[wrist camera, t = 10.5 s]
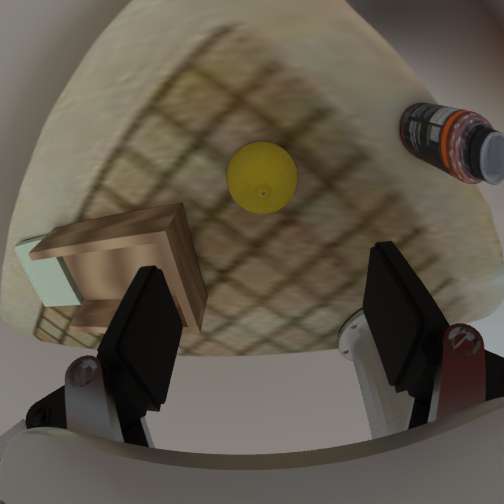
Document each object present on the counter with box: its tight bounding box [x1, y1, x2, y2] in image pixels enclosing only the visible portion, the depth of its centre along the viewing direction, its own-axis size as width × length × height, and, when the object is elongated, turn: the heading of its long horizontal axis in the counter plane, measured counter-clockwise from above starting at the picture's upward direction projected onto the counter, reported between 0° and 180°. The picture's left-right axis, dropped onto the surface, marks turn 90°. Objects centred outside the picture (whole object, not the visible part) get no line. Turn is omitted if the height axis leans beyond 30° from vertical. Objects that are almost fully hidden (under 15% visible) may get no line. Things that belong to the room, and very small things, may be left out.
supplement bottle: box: [401, 103, 504, 185], centre depth 17 cm, size 6×6×11 cm
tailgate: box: [14, 235, 84, 307], centre depth 31 cm, size 2×11×8 cm
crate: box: [28, 203, 208, 334], centre depth 28 cm, size 18×12×6 cm, turn 97°
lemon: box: [226, 141, 297, 214], centre depth 21 cm, size 6×6×8 cm
